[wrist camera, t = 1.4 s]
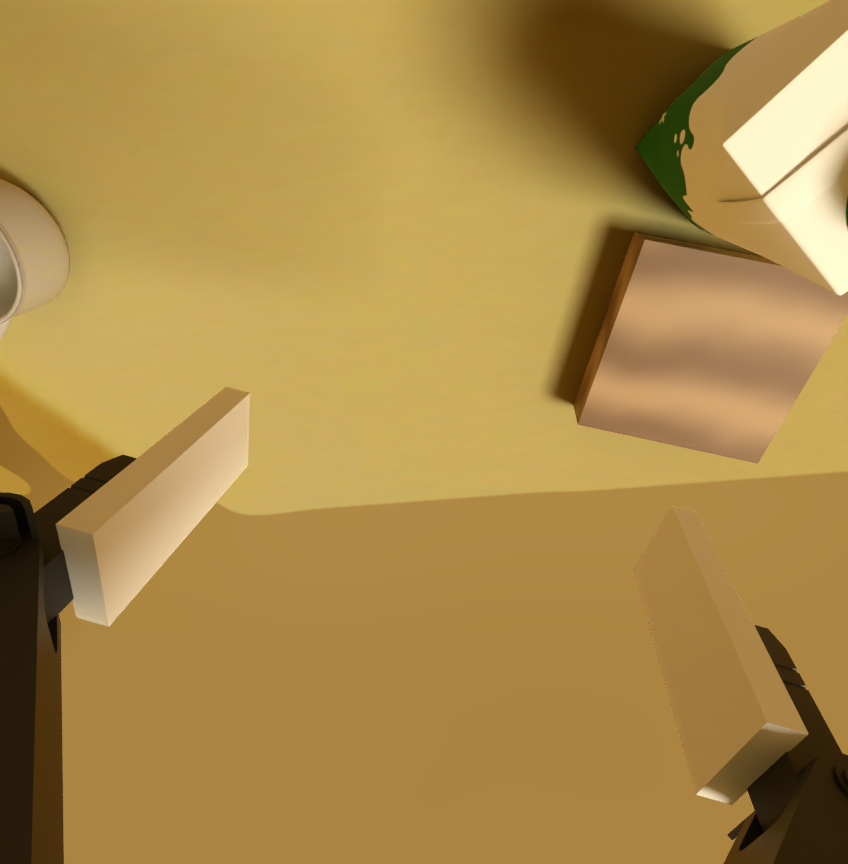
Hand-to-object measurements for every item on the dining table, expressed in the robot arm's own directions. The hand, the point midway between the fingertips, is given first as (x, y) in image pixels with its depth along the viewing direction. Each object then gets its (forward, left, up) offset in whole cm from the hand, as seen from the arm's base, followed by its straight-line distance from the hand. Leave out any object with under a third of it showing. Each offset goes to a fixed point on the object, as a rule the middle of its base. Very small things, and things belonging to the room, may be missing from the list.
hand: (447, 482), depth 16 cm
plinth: (+1, +16, -28) cm, 32 cm away
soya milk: (-12, +12, -27) cm, 32 cm away
